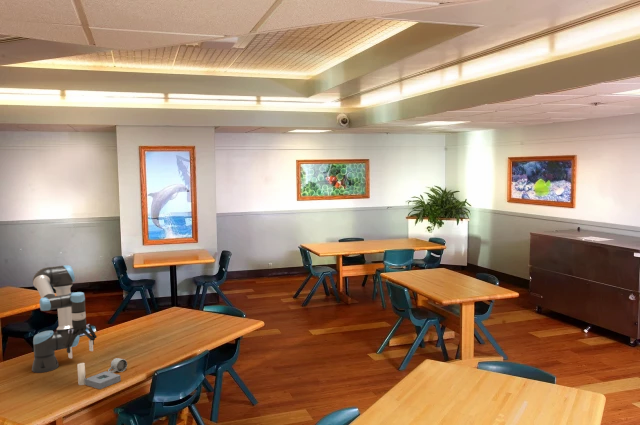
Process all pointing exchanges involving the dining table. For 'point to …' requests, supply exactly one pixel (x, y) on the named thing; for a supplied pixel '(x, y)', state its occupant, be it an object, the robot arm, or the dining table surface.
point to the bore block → (102, 380)
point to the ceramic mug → (118, 365)
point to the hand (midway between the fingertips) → (81, 354)
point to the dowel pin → (81, 373)
